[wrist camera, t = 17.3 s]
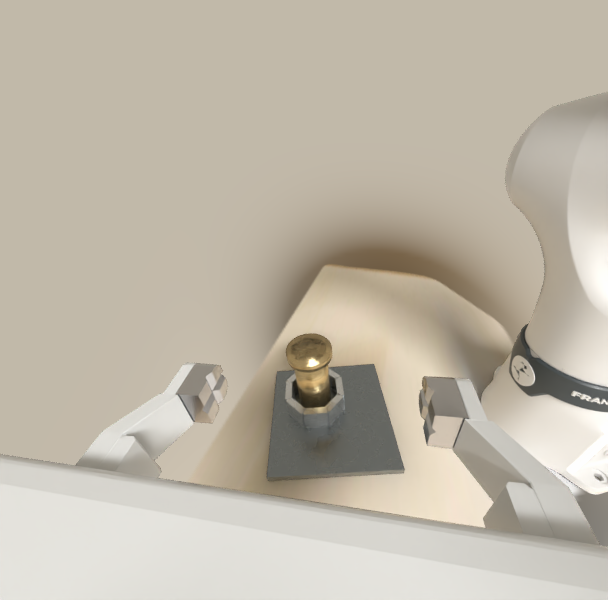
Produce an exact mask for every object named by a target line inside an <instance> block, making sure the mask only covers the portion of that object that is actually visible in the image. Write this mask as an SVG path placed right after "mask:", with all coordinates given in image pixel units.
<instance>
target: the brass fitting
mask: <svg viewBox="0 0 608 600" xmlns="http://www.w3.org/2000/svg"><path fill="white" fill-rule="evenodd" d="M286 355H287V360H288V363H289V365H290V366H291V367H292V368H293V369H294V370H295V376H296V381H297V386H298V391H299V397H300V402H301V405H302V406H303V407H304V408H316V407H325V406H326V405H327V404H328V403H329V402H330V401H331V393H330V382H329V370H328V364H329V362H330V361H331V358H332V347H331V343H330V342H329V340H328V339H327V338H325V337H323V336H321V335H318V334H304V335H300V336H298V337H296V338H294V339H293V340H292V341H291V342H290V343H289V344H288V346H287V348H286Z"/></svg>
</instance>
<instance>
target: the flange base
mask: <svg viewBox="0 0 608 600" xmlns="http://www.w3.org/2000/svg"><path fill="white" fill-rule="evenodd" d="M328 370H329V382H330V393H331V401H330V402H329V403H328V404H327V405H326V406H325V407H316V408H304V407H303V406H302V405H301V402H300V397H299V391H298V386H297V381H296V376H295V370H293V371H280V372H277V377H276V387H275V398H274V408H273V418H272V429H271V439H270V449H269V459H268V470H267V479H268V481H274V480H292V479H309V478H327V477H344V476H362V475H380V474H397V473H404V466H403V463H402V459H401V456H400V452H399V449H398V445H397V442H396V438H395V435H394V432H393V428H392V425H391V421H390V418H389V414H388V411H387V407H386V404H385V400H384V397H383V394H382V390H381V387H380V383H379V380H378V376H377V373H376V369H375V366H374V364H369V365H356V366H344V367H331V368H328Z"/></svg>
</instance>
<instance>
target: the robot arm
mask: <svg viewBox="0 0 608 600" xmlns="http://www.w3.org/2000/svg"><path fill="white" fill-rule="evenodd" d="M505 181H506V182H505V183H506V189H507V192H508V195H509V198H510V199H511V201H512V203H513V204H514V205H515V206H516V207H517V208H518V209H519V210H520V211H521V212H522V213H523V214H524V215H525V217H526V218H527V219H528V221H529V222H530V224H531V226H532V227H533V229H534V231H535V233H536V235H537V237H538V240H539V242H540V246H541V249H542V253H543V258H544V268H545V269H544V270H545V272H544V281H543V285H542V289H541V292H540V295H539V298H538V302H537V304H536V307H535V310H534V312H533V315H532V317H531V320H530V322H529V323H528V324H527V325H525V326H524V327H523V328H522V330H521V332H520V333H519V335H518V336H517V340H516V342H515V344H514V346H513V349H512V351H511V353H510V354H509V356H508V357H507V359H506V360H505V362H504V364H503V365H502V366H498V367H497V368H496V370H495V372H494V376H493V381H492V382H491V383H490V384H489V385H488V386H487V387H486V388H485V390H484V391H483V393H482V397H481V403H480V400H479V398H478V396H477V393H476V391H475V389H474V386H473V384H472V381H471V380H470V379H463V378H449V377H427V376H424V377H423V380H422V386H423V389H422V390H420V395H419V407H420V414H421V417H422V418H423V419H424V420H425V422H424V427H423V429H424V434H425V438H426V443H427V446H434V447H442V448H449V449H453V451H454V452H455V454H456V455H457V456H458V457H459V459H460V460H461V461H462V463H463V464H464V465H465V466H466V468H467V469H468V470H469V471H470V473H471V474H472V475H473V476H474V478H475V479H476V480H477V482H478V483H479V484H480V485H481V487H482V488H483V489H484V490H485V492H486V493H487V494H488V495H489V497H490V498H491V499H492V501H493V502H494V503H493V505H492V506H491V508H490V509H489V511H488V512H487V513H486V515H485V516H484V518H483V520H484V524H485V527H486V528H483V527H476V526H469V525H463V524H456V523H450V522H443V521H437V520H430V519H424V518H417V517H410V516H404V515H397V514H391V513H384V512H378V511H371V510H364V509H358V508H351V507H345V506H338V505H332V504H325V503H319V502H312V501H305V500H299V499H292V498H286V497H279V496H273V495H266V494H259V493H253V492H246V491H240V490H233V489H227V488H220V487H213V486H207V485H200V484H194V483H187V482H181V481H174V480H167V479H160V478H158V477H159V475H160V473H161V468H160V467H159V465H158V464H157V463H156V462H155V461H154V460H155V459H156V458H157V457H158V456H160V455H161V454H162V453H163V452H164V451H165V450H166V449H167V448H168V447H169V446H170V445H171V444H172V443H173V442H174V441H176V440H177V439H178V438H179V437H180V436H181V435H182V434H183V433H184V432H185V431H186V430H187V429H188V428H189V427H190V426H191V425H193V423H194V422H200V423H213V421H214V419H215V417H216V415H217V413H218V411H219V405H218V404H219V403H220V402H221V401H223V400H224V398H225V395H226V392H227V387H228V385H227V380H226V378H225V377H224V376H223V375H222V374H221V373H222V371H223V370H222V368H221V365H213V364H200V363H185V364H184V365H183V366H182V367H181V369H180V370H179V371H178V373H177V375H176V376H175V377H174V379H173V380H172V382H171V383H170V384H169V386H168V387H167V389H166V390H165V392H164V393H163V394H161V393H160V394H158V395H157V396H155V397H154V398H152V399H151V400H149V401H148V402H146V403H145V404H143V405H142V406H140V407H139V408H137V409H136V410H134V411H133V412H131V413H129V414H128V415H126V416H125V417H124V418H122V419H120V420H119V421H117V422H116V423H114V424H113V425H111V426H110V427H108V428H107V429H105V430H104V431H102V432H101V434H100V435H99V436H98V437H97V439H96V440H95V441H94V443H93V444H92V445H91V446H90V447H89V449H88V450H87V451H86V452H85V454H84V455H83V456H82V458H81V459H80V460H79V461H78V463H77V464H76V465H68V464H61V463H55V462H49V461H42V460H35V459H29V458H22V457H16V456H9V455H3V454H0V600H608V547H607V546H601V545H600V543H599V541H598V540H597V538H596V536H595V534H594V533H593V531H592V529H591V527H590V525H589V523H588V521H587V520H586V518H585V516H584V514H583V513H582V511H581V509H580V507H579V505H578V504H577V501H576V500H575V498H574V496H573V494H572V492H571V491H570V489H569V487H567V486H566V485H565V484H564V483H563V482H562V481H561V480H559V479H558V478H557V477H556V476H555V475H554V474H553V473H551V472H550V471H549V470H548V469H547V468H550V469H552V470H554V471H556V472H558V473H560V474H561V475H563V476H564V477H566V478H567V479H568V480H570V481H571V482H572V483H574V484H575V485H577V486H578V487H580V488H581V489H583V490H585V491H587V492H589V493H592V494H601V493H604V492H607V491H608V92H606V93H602V94H597V95H594V96H589V97H586V98H582V99H578V100H575V101H571V102H568V103H564V104H560V105H557V106H554V107H552V108H550V109H549V110H547V111H546V112H545V113H543V114H542V115H541V116H540V117H538V118H537V119H536V120H535V121H534V122H533V123H532V124H531V125H530V126H529V127H528V128H527V130H526V131H525V132H524V133H523V134H522V136H521V137H520V139H519V140H518V142H517V143H516V145H515V146H514V148H513V150H512V152H511V155H510V157H509V160H508V163H507V168H506V176H505ZM546 467H547V468H546ZM594 476H595V477H597V478H599V479H600V481H599V480H598V479H596V478H595V477H594Z"/></svg>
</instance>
